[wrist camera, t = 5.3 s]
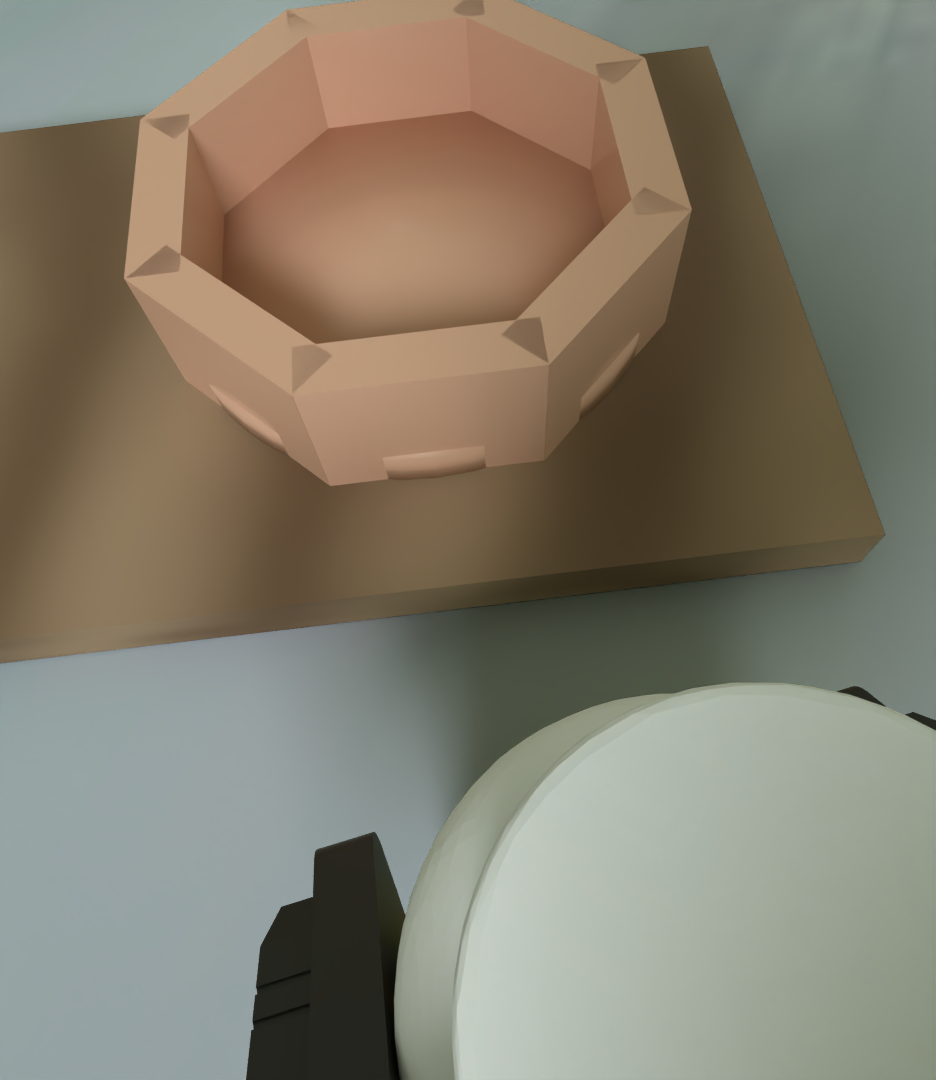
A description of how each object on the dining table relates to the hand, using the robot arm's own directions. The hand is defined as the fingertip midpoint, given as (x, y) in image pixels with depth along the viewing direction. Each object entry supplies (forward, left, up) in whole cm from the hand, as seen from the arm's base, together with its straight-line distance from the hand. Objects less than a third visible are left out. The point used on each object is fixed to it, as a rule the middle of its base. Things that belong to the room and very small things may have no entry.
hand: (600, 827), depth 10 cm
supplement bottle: (0, -2, -4) cm, 5 cm away
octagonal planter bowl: (-2, +12, -3) cm, 13 cm away
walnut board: (-4, +12, -4) cm, 13 cm away
